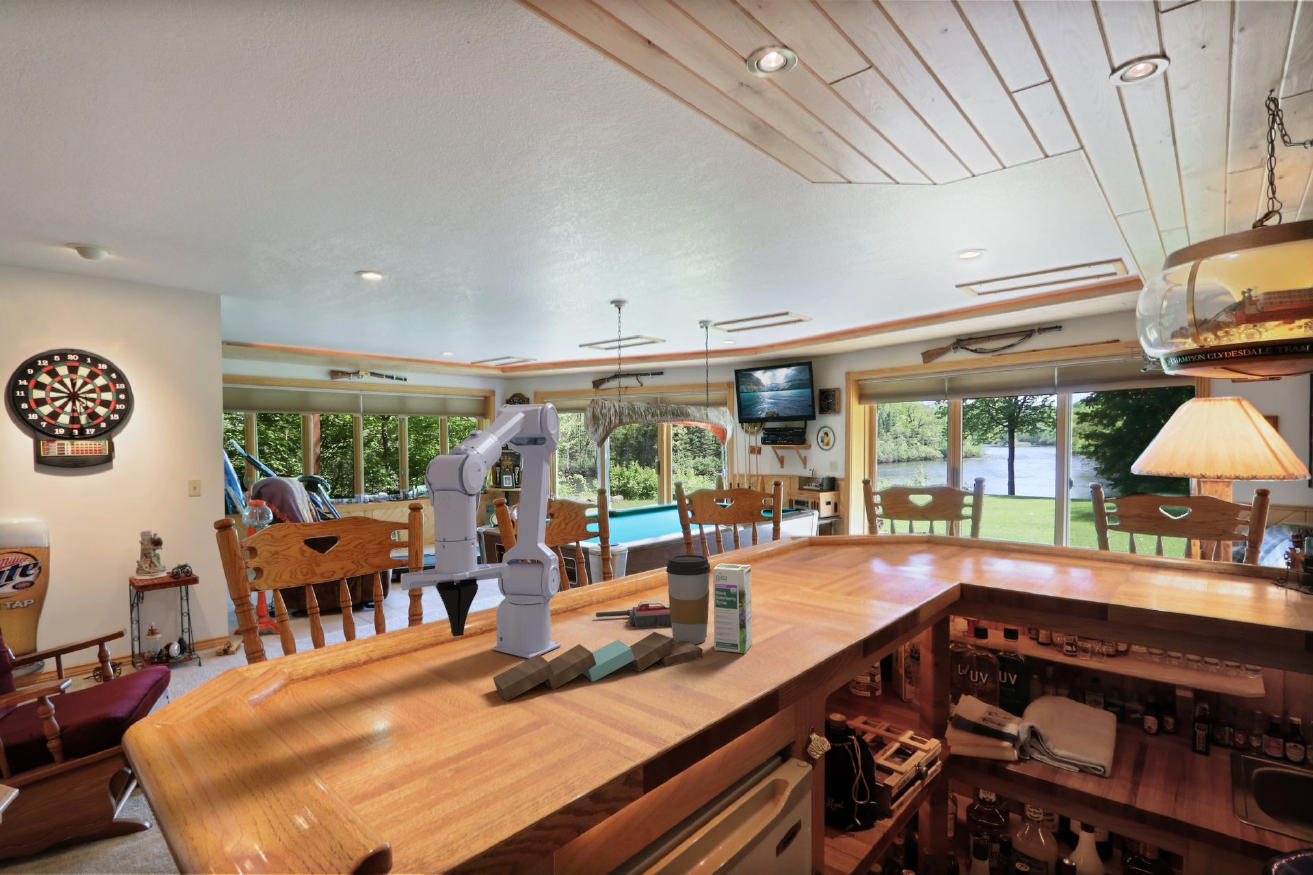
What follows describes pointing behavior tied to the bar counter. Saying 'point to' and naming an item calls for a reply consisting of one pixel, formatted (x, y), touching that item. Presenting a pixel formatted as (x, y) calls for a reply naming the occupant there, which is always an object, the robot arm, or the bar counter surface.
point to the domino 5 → (682, 654)
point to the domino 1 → (523, 677)
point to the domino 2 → (570, 665)
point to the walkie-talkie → (644, 614)
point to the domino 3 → (609, 659)
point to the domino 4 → (650, 650)
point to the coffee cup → (689, 597)
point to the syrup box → (732, 608)
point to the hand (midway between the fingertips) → (457, 633)
